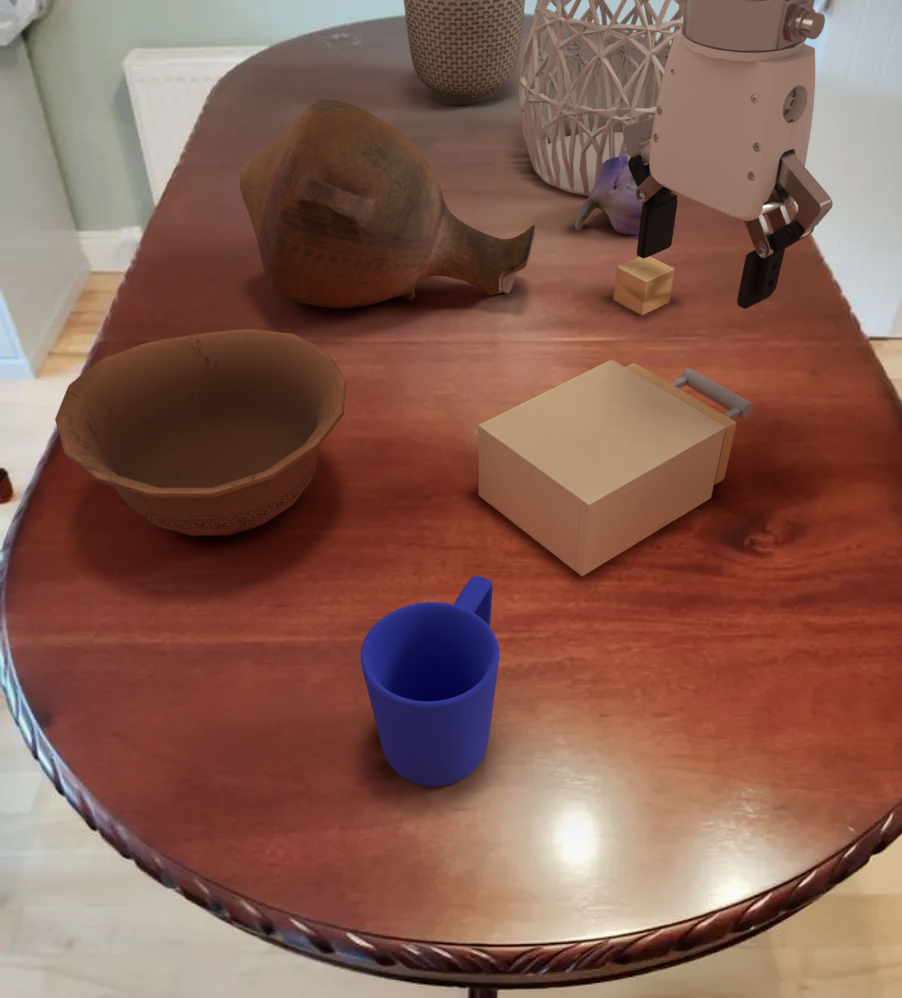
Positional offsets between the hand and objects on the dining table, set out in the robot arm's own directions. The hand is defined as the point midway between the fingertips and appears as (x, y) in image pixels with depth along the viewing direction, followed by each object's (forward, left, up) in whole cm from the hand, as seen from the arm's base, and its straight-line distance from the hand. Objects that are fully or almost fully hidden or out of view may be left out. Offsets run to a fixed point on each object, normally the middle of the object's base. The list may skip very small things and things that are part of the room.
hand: (702, 275), depth 73 cm
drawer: (+3, -1, -17) cm, 17 cm away
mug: (+32, +10, -18) cm, 38 cm away
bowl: (+32, -20, -18) cm, 42 cm away
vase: (-40, -48, -18) cm, 65 cm away
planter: (-42, -81, -18) cm, 93 cm away
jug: (+1, -39, -18) cm, 43 cm away
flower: (-28, -35, -18) cm, 48 cm away
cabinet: (+8, -1, -18) cm, 20 cm away
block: (-18, -21, -18) cm, 33 cm away
